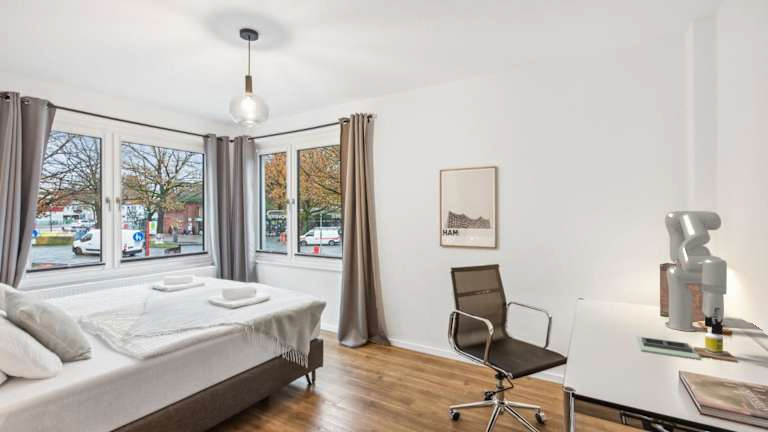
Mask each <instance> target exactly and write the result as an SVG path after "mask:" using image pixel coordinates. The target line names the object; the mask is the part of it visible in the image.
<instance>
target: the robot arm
mask: <svg viewBox="0 0 768 432" xmlns="http://www.w3.org/2000/svg"><path fill="white" fill-rule="evenodd" d="M664 223H665V224H664V225H665V227H666V230H667V232H668V235H669V258H670V261H672V262H673V263H674V264H681V266H672V267H669V268H668V269H667V272H666V274H667V280H668V287H669V318H668V321H667V322H665V323H664V327H667V328H668V329H673V330H678V331H682V332H683V331H685V332H696V331H697V330H698V327H696V326H695V325H693V323H694V322H693V296H692V293H691V291H690V290H689V289H688V288H687V287H686V285H694V286H702V292H704V294H703V305H702V312H703V313H704V314H705V324H704V326H705V327H707V328H712V333H713V334H720V335H721V336H723V329H724V328H723V323H724V322H723V323H722V318H723V319H724V317H725V306H724V305H725V304H724V303H725V301H724V298H725V297H724V295H727V289H728V288H727V278H728V277H727V276H728V272H727V271H728V262H727V261H726V260H724V259H722V258H721V257H719V256H714V255H713V256H712V254H711V251H710V250H709V248H708V247H707V246H705V245H707V244H708V243H709V242H710V241H711V236H710V233H709V231H716V230H719V229H720V228H721V225H722V219H721V217H720V215H719V214H718V213H717V212H715V211H708V210H693V211H692V210H678V211H677V210H676V211H675V210H674V211H671V212H670V211H669V212H668V213H666V215H665V217H664Z"/></svg>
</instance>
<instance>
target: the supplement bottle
mask: <svg viewBox="0 0 768 432" xmlns="http://www.w3.org/2000/svg"><path fill="white" fill-rule="evenodd" d="M704 337H705V338H704V348H705V351H706V352H707V353H710V354H714V355H722V354H723V351H724V349H723V348H724V337H723V335H720V334H713V333H712V327H707V332H706V333H705V335H704Z"/></svg>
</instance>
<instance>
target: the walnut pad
mask: <svg viewBox="0 0 768 432" xmlns="http://www.w3.org/2000/svg"><path fill="white" fill-rule="evenodd" d="M693 350H694V351H695V353H696V354H697V355H698V356H699V358H704V359H710V358H712V360H717V359H718V360H720V361H725V362H732V363H738V360H737V359H736V358H735V356H733V355H732V354H731V353H730V352H729V351H727V350H723V354H722V355H714V354H710V353H707V352H706V351H705V347H698V346H693Z"/></svg>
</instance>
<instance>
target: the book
mask: <svg viewBox="0 0 768 432" xmlns="http://www.w3.org/2000/svg"><path fill="white" fill-rule="evenodd" d="M677 264H678V265H677ZM679 264H680V263H674V262H673V263H670V262H666V263H660V264H659V302H660V303H659V305H660V307H659V316H660V317H663V318H668V317H669V287H668V280H667V274H666V272H667V269H668V268H669V267H672V266H681V265H679ZM686 287H687V288H688V289H689V290H690V291H691V293H692V296H693V323H695V322H698V321H705V314H704V313H703V312H702V305H703V294H704V292H702V286H694V285H686ZM723 319H724V317H723V318H722V322H723ZM723 323H724V322H723Z"/></svg>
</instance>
